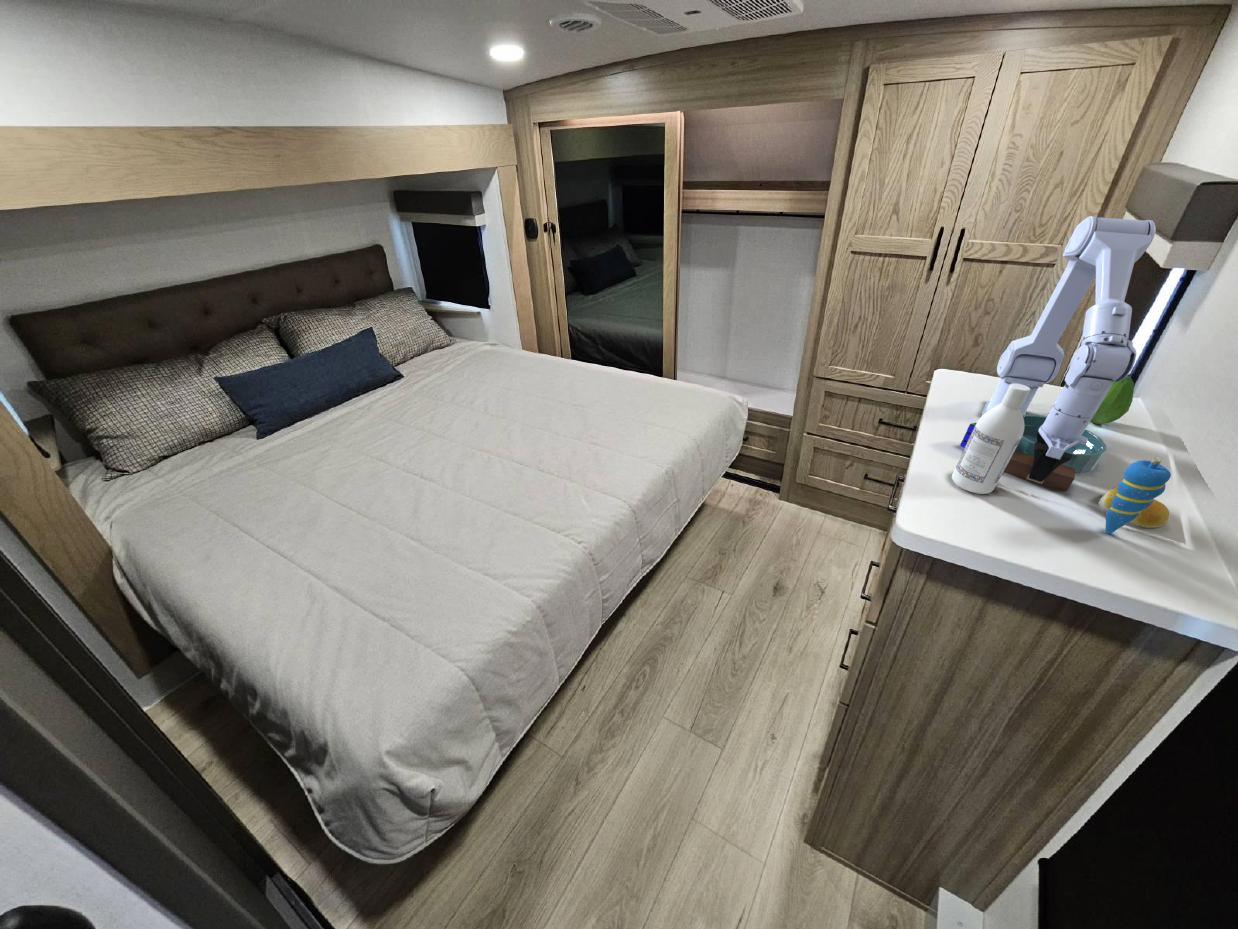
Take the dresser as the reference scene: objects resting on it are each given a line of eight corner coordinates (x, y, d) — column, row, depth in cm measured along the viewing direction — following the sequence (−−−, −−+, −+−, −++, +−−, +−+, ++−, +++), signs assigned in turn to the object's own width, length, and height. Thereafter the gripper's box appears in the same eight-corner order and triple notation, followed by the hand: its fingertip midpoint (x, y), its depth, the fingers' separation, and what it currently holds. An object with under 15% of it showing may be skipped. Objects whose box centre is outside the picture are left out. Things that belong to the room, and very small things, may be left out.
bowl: (1004, 425, 116) (1013, 407, 113) (1094, 450, 107) (1106, 431, 105) (994, 454, 105) (1004, 436, 103) (1093, 485, 97) (1106, 465, 94)
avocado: (1097, 432, 114) (1128, 382, 107) (1065, 415, 120) (1092, 367, 114) (1125, 428, 116) (1157, 379, 109) (1091, 412, 122) (1120, 365, 115)
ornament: (1114, 546, 83) (1172, 469, 74) (1080, 526, 87) (1131, 452, 78) (1132, 538, 84) (1191, 462, 76) (1098, 519, 88) (1150, 445, 80)
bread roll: (1158, 537, 85) (1174, 518, 82) (1092, 510, 90) (1105, 492, 88) (1167, 516, 89) (1181, 498, 87) (1103, 492, 95) (1115, 475, 93)
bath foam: (979, 473, 99) (1027, 378, 88) (1001, 495, 93) (1055, 396, 82) (943, 473, 99) (987, 377, 88) (963, 494, 93) (1012, 395, 82)
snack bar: (1002, 473, 99) (1009, 459, 98) (1004, 464, 102) (1012, 450, 100) (1065, 493, 94) (1074, 478, 92) (1066, 483, 97) (1075, 468, 95)
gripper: (1101, 433, 83) (1059, 500, 91) (1101, 403, 93) (1063, 465, 100) (1049, 420, 87) (1013, 484, 94) (1054, 391, 96) (1021, 452, 104)
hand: (1036, 473), depth 98 cm, fingers closed on snack bar, 4 cm apart
